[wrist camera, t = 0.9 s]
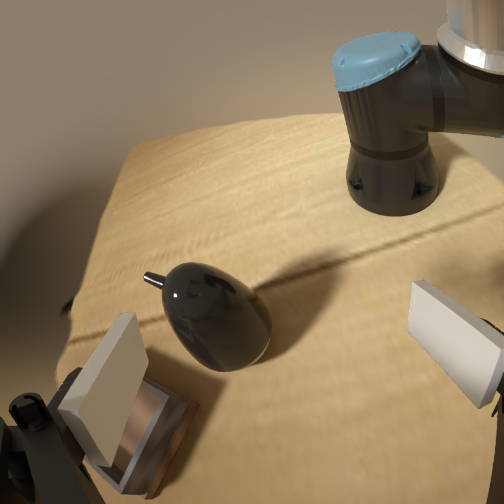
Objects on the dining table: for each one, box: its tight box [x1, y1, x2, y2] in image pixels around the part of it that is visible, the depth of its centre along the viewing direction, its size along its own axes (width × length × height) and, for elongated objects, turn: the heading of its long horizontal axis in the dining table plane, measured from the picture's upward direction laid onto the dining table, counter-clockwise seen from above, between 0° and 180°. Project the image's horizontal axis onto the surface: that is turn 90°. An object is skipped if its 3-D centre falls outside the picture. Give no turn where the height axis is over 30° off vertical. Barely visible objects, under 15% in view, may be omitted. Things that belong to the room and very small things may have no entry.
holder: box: [84, 375, 199, 499], centre depth 32 cm, size 15×15×6 cm
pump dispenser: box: [144, 262, 272, 372], centre depth 32 cm, size 10×10×15 cm
